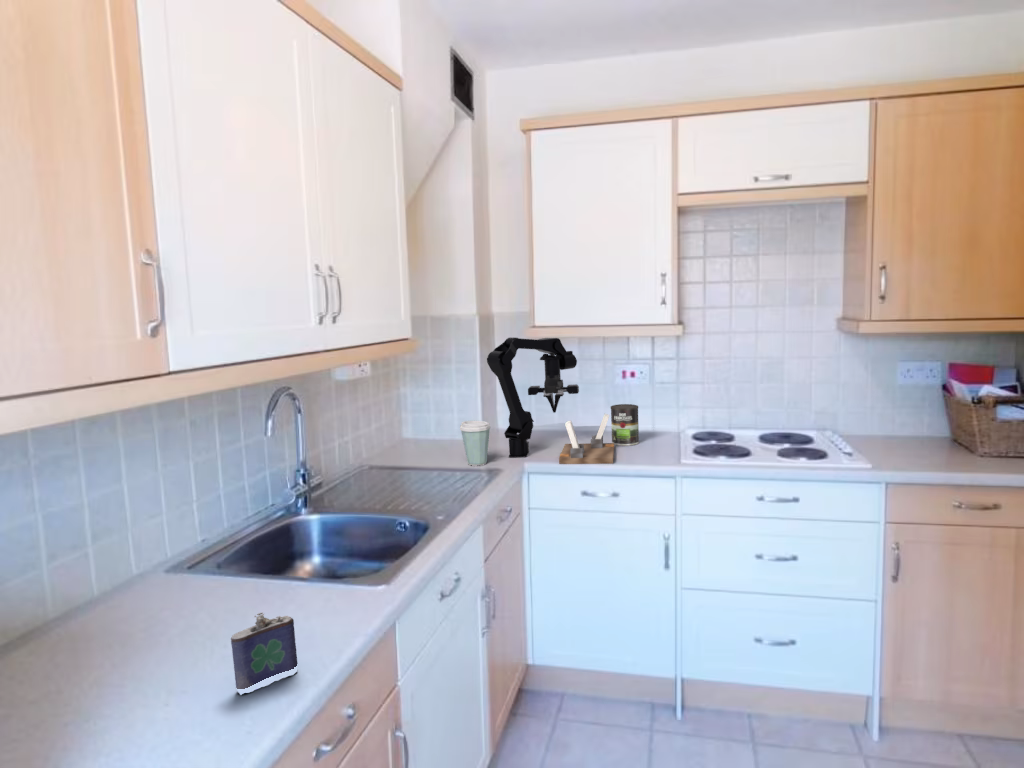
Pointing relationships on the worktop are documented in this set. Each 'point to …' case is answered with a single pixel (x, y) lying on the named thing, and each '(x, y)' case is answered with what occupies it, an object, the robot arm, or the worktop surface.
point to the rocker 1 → (572, 434)
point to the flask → (263, 650)
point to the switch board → (588, 453)
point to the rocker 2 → (602, 426)
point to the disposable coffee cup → (475, 441)
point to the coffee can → (624, 424)
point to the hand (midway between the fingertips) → (554, 412)
